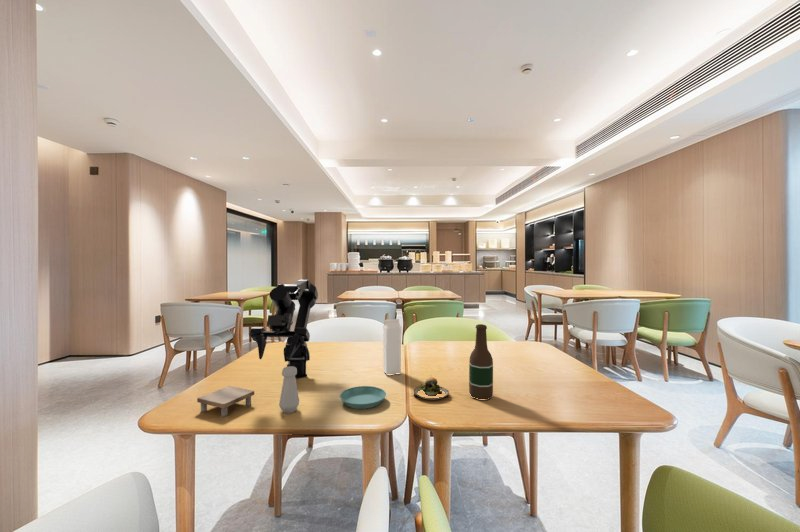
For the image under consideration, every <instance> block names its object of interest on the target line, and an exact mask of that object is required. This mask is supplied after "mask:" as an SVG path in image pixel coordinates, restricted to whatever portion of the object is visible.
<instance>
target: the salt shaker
mask: <svg viewBox="0 0 800 532" xmlns="http://www.w3.org/2000/svg"><path fill="white" fill-rule="evenodd" d="M296 374H297V368H296V367H293V366H289V367H287V366H284V367H283V368H282V370H281V375H282V377H283V381H282V386H281V393H280V397H279V398H280V399H279V403H278V406H279V408H280V411H282V413H283V414H293V413H295V412H296V411H297V409H298V407H299V405H300V397H299V392H298V387H297V386H298V385H297V380H296V379H297V378H295V375H296Z"/></svg>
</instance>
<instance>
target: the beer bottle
mask: <svg viewBox="0 0 800 532" xmlns="http://www.w3.org/2000/svg"><path fill="white" fill-rule="evenodd" d="M475 329H476V330H475V331H476V332H475V345H474V349H472V351H471V353H470V354H469V355H470V356H469V362H468V365H469V367H468V368H469V369H468V370H469V373H468V374H469V375H468V381H469V382H468V387H469V389H468V390H469V393H470V394H471V396H472V397H475V398H478V399H488V398H490V397H492V396H493V395H494V360H493V357H492V354H491V353H490V351H489V348H488V341H487V340H488V339H487V329H488V327H487V325H485V324H476V325H475ZM470 394H469V395H470ZM471 396H470V397H471ZM472 397H471V398H472ZM492 398H493V397H492Z"/></svg>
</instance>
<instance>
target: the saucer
mask: <svg viewBox="0 0 800 532" xmlns="http://www.w3.org/2000/svg"><path fill="white" fill-rule="evenodd" d="M386 396H387V392H386V391H385V390H384V389H383V388H379V387H376V386H370V385H362V386H353V387H350V388H347V389H345V390H343V391H342V392H340V395H339V398H340V400H341V401H342V402H343V404H345V405H346V406H347V407H349V408H351V409H355V410H366V409H367V408H368V409H371V407H372V408H375V407H377V406H379V405H380V404H381V403H382V402H383V400H385V398H386ZM374 406H375V407H374Z"/></svg>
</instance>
